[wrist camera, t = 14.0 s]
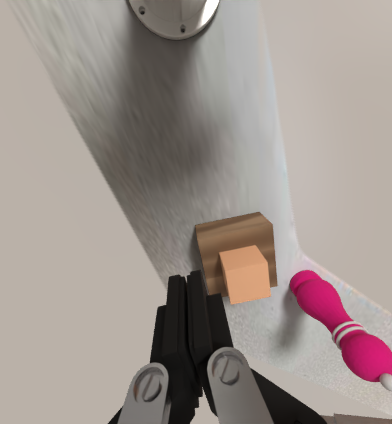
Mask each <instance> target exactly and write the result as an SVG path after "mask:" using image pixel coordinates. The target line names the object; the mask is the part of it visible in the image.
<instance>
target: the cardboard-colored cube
mask: <svg viewBox="0 0 392 424" xmlns="http://www.w3.org/2000/svg"><path fill="white" fill-rule="evenodd" d="M219 255H220V260H221V265H222V271H223V276H224V282H225V285H226V289H227V292H228V296H229V299H230V303H231V304H236V303H241V302H246V301H251V300H256V299H261V298H266V297H271V293H270V283H269V272H268V262H267V261H266V259H265V258H264V256H263V255H262V254H261V252H260V251H259V249H258V248H257V246H256V245H253V246H249V247H244V248H239V249H234V250H229V251H224V252H219Z"/></svg>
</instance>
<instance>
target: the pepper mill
mask: <svg viewBox="0 0 392 424" xmlns="http://www.w3.org/2000/svg"><path fill="white" fill-rule="evenodd" d="M290 288H291V290H292V292H293V293H294V294H295V296H296V297H297V302H298V304H299V306H300V307H301V308H302V309H303V310H304V311H305V312H306V313H307V314H308V315H310V316H311V317H313V318H315V319H317V320H318V321H320V322H321V323H323V324H324V325H325V326H326V327H327V329H328V330H329V331H330V332H331V334H332V340H333V342H334V343H335V344H336V345H337V347H338V348H339V349H340V350H342V357H343V360H344V362H345V363H346V365H347V366H348V368H349V369H350V370H351V371H352V372H353V373H354V374H356V375H357V376H358V377H360V378H362V379H364V380H366V381H370V382H381V384H382V385H383V387H384V388H386V389H387V390H389V391H392V352H391V350H390V349H389V347H388V346H387V345H386V344H385V343H384V342H383V341H382V340H380V339H379V338H378V337H376V336H373V335H370V334H369V332H368V331H367V329H365V328H364V327H363V325H362V324H360V323H359V322H356V321H353V320H352V319H351V318H350V317H349V316H348V314H347V313H346V311H345V310H344V308H343V305H342V302H341V299H340V297H339V295H338V293H337V291H336V290H335V288H334V287H333V286H332V285H331V284H330V283H328V282H327V281H324V280H322V279H321V278H320V277H319V276H318V275H317V274H316V273H315V272H313V271H310V270H305V271H301V272H299V273H297V274H296V275H295V276H294V277H293V278H292V279H291V282H290Z"/></svg>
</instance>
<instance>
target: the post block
mask: <svg viewBox="0 0 392 424" xmlns="http://www.w3.org/2000/svg"><path fill="white" fill-rule="evenodd" d="M195 227H196V234H197V241H198V245H199V250H200V254H201V259H202V263H203V268H204V272H205V277H206V281H207V286H208V290H209V295H213V294H217V293H221V296H222V297H226V296H228V292H227V289H226V285H225V282H224V276H223V271H222V265H221V260H220V255H219V252H224V251H229V250H234V249H239V248H244V247H249V246H253V245H256V246H257V248H258V249H259V251H260V252H261V254H262V255H263V256H264V258H265V259H266V261H267V262H268V272H269V283H270V287H275V286H277V274H276V261H275V249H274V236H273V224H272V223H271V222H269V221H268V220H267V219H266V218H265V217H264V216H263V215H262V214H261V213H260V212H256V213H251V214H246V215H242V216H237V217H232V218H227V219H222V220H217V221H213V222H208V223H203V224H198V225H195Z"/></svg>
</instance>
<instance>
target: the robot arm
mask: <svg viewBox="0 0 392 424" xmlns="http://www.w3.org/2000/svg"><path fill="white" fill-rule="evenodd" d="M219 1H220V0H129V2H130V5H131V7H132V9H133V10H134V12H135V14H136V15H137V17H138V18H139V20H140V21H141V22H142V23H143V24H144V26H146V27H147V28H148V29H149V30H150V31H152V32H153V33H155V34H157V35H158V36H160V37H163V38H167V39H172V40H180V39H187V38H189V37H191V36H194V35H196V34H197V33H198V32H200V31H201V30H203V29H204V27H205V26H206V25H207V24H208V23H209V22H210V20H211V19H212V17H213V16H214V14H215V12H216V9H217V7H218V5H219ZM143 12H144V13H145V14H144V15H141V14H142V13H143ZM182 30H184V31H185V32H184V33H182V32H181V31H182ZM202 387H203V390H204V392H205V395H206V398H207V400H208V403H209V406H210V409H211V411H212V412H213V413H214V414H215V415H216V416H217V417H218V419H219V423H220V424H392V419H382V418H372V417H361V416H351V415H342V414H334V417H333V416H323V415H319V414H318V413H316V412H315V411H314V410H312V409H311V408H309V407H308V406H306V405H305V404H303V403H302V402H300V401H299V400H297V399H296V398H294V397H293V396H291V395H290V394H288V393H287V392H286V391H284V390H283V389H281V388H280V387H278V386H277V385H275V384H274V383H272V382H271V381H269V380H268V379H266V378H265V377H263V376H262V375H260V374H259V373H257V372H256V371H254V370H253V369H251V368H250V367H249V365H248V362H247V360H246V358H245V357H244V355H243V354H242V353H241V352H240V351H239V350H237V349H235V348H234V347H233V343H232V339H231V334H230V330H229V326H228V321H227V317H226V313H225V309H224V304H223V300H222V296H221V293H217V294H213V295H208V294H207V291H206V287H205V283H204V280H203V276H202V272H201V270H197V271H192V272H190V275H188V276H187V283H186V280H185V277H184V276H183V277H181V276H180V275H175V276H170V277H169V281H168V292H167V302H166V305H164V306H160V307H158V309H157V315H156V322H155V329H154V336H153V343H152V350H151V357H150V364H147V365H145V366H144V367H142V368H141V369H140V370H139V371H138V372H137V373H136V375H135V376H134V377H133V379H132V382H131V384H130V387H129V390H128V393H127V396H126V399H125V402H124V405H123V406H122V408H121V409H120V410H119V411H118V412H117V413H116V415H115V416H114V417H113V418H112V419H111V421H110V422H109V423H108V424H190V422H191V420H192V419H193V417H194V416H195V408H198V407H199V398H198V397H202V396H203V390H202Z"/></svg>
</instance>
